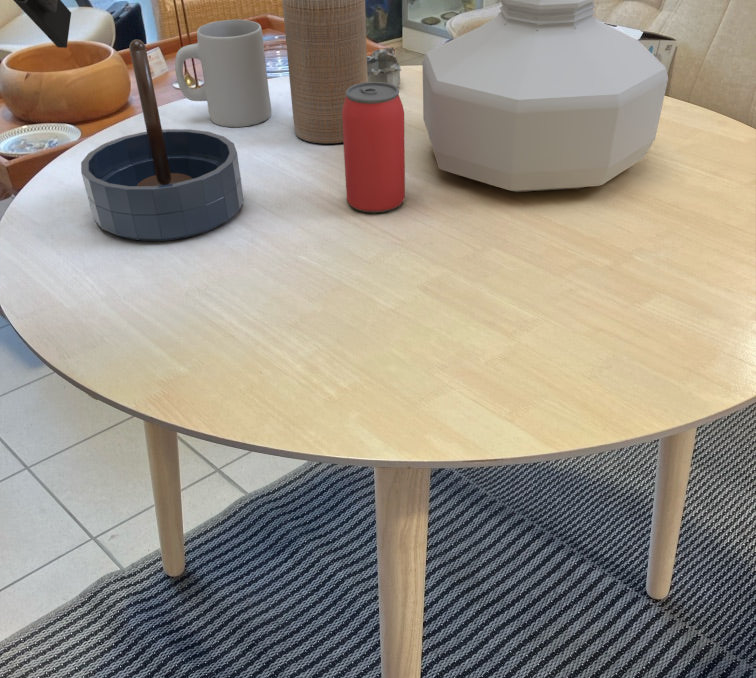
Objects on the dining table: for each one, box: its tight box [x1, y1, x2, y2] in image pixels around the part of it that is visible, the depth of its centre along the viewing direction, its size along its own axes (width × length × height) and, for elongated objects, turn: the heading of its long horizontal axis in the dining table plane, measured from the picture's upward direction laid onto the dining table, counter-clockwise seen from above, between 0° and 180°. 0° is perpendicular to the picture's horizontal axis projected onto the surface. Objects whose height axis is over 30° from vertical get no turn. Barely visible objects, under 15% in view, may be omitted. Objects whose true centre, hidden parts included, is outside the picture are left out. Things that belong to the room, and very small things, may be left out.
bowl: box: [80, 128, 245, 242], centre depth 95 cm, size 17×17×6 cm
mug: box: [174, 19, 272, 128], centre depth 114 cm, size 12×8×11 cm
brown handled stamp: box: [128, 39, 193, 186], centre depth 90 cm, size 6×6×17 cm
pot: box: [422, 0, 669, 193], centre depth 98 cm, size 28×28×19 cm
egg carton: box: [367, 46, 402, 88], centre depth 125 cm, size 11×8×4 cm
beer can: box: [342, 82, 406, 214], centre depth 93 cm, size 7×7×12 cm
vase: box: [281, 0, 368, 145], centre depth 104 cm, size 10×10×28 cm
